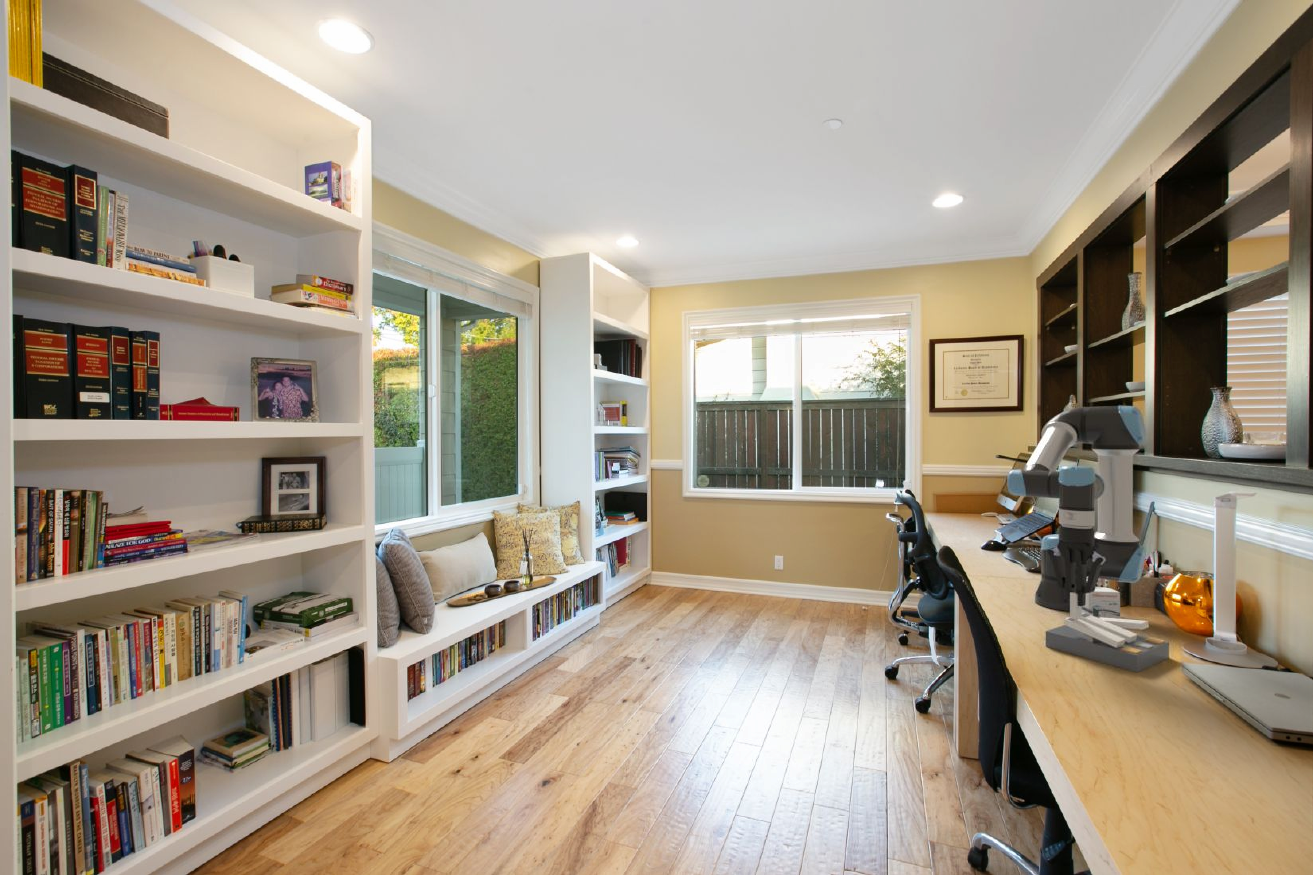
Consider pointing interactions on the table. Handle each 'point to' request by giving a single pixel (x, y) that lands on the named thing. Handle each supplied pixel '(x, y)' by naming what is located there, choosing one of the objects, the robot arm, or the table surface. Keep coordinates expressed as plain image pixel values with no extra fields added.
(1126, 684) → the table surface
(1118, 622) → the rocker
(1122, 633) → the rocker
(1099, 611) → the ink box
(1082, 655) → the gray compartment tray
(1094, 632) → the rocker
